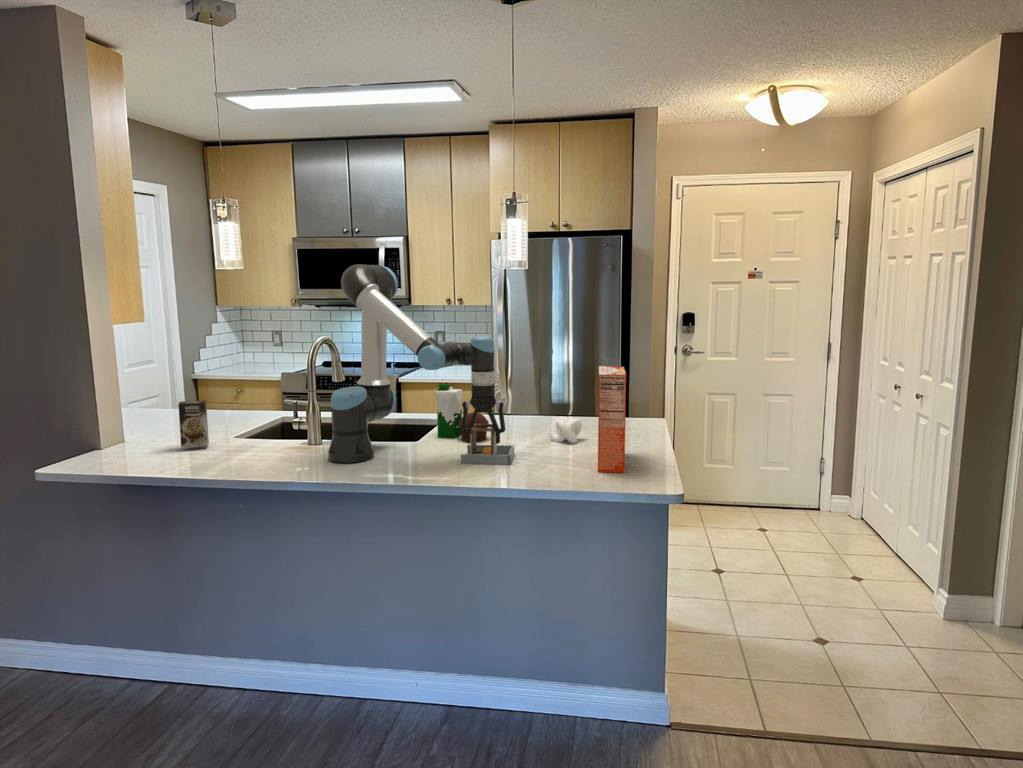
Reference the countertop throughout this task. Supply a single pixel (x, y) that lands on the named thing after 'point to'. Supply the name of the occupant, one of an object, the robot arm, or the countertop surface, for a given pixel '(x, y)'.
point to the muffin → (479, 420)
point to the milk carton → (449, 411)
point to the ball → (487, 451)
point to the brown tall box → (193, 423)
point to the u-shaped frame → (489, 456)
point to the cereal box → (611, 419)
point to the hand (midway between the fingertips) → (483, 452)
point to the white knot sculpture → (565, 429)
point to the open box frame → (473, 436)
